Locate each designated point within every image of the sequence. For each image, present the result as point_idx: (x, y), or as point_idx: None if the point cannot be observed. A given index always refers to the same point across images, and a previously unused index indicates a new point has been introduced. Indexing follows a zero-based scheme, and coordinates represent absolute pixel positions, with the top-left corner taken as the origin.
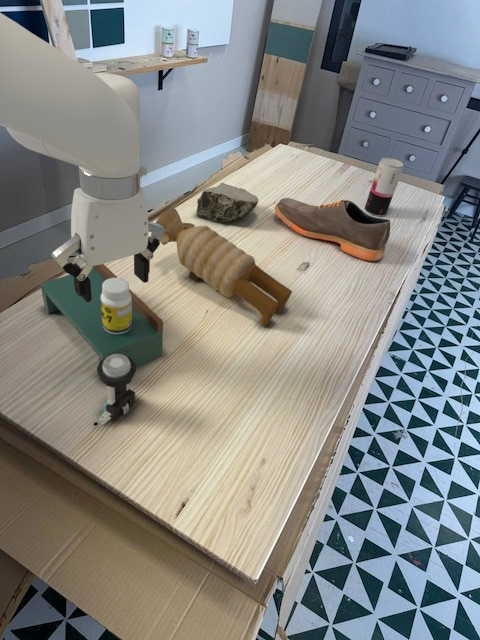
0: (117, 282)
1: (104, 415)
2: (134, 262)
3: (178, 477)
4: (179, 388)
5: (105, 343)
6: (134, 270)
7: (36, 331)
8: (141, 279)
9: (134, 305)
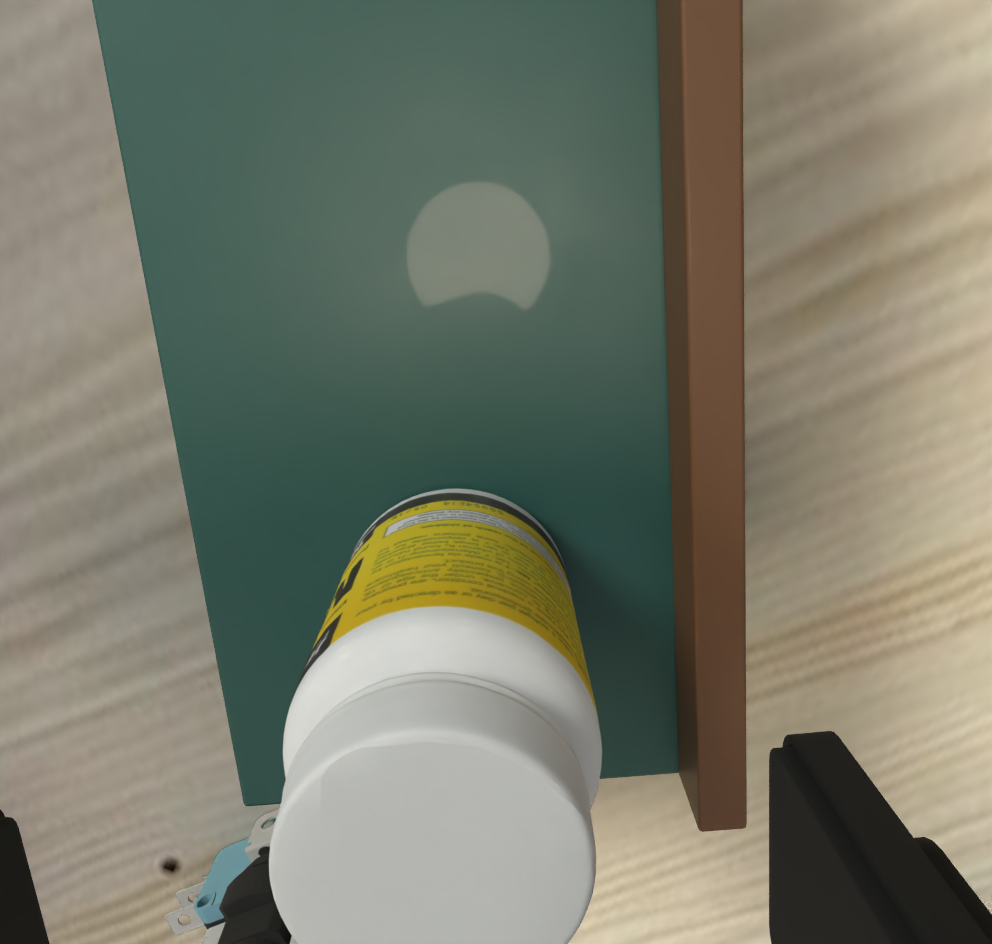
0: (477, 843)
1: (195, 913)
2: (850, 885)
3: None
4: (615, 871)
5: None
6: (791, 789)
7: (46, 54)
8: (776, 904)
9: (678, 483)
